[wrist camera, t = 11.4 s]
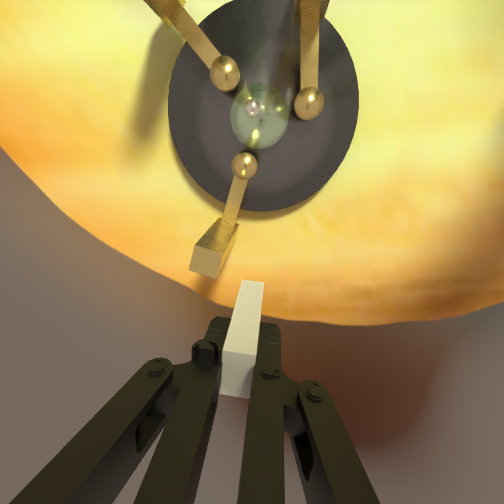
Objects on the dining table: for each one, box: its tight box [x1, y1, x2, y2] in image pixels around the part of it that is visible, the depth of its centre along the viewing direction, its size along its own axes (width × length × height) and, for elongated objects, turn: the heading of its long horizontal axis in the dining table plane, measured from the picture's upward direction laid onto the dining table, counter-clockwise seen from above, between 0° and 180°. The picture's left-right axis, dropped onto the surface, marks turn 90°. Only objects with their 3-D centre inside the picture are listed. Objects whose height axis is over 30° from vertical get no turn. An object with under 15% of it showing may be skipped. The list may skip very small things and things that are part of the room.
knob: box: [144, 0, 240, 93], centre depth 20 cm, size 11×3×10 cm, turn 42°
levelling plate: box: [168, 0, 359, 211], centre depth 27 cm, size 20×20×2 cm
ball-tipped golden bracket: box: [189, 152, 258, 279], centre depth 25 cm, size 11×3×10 cm, turn 162°
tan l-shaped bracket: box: [294, 0, 330, 121], centre depth 20 cm, size 11×3×10 cm, turn 4°
